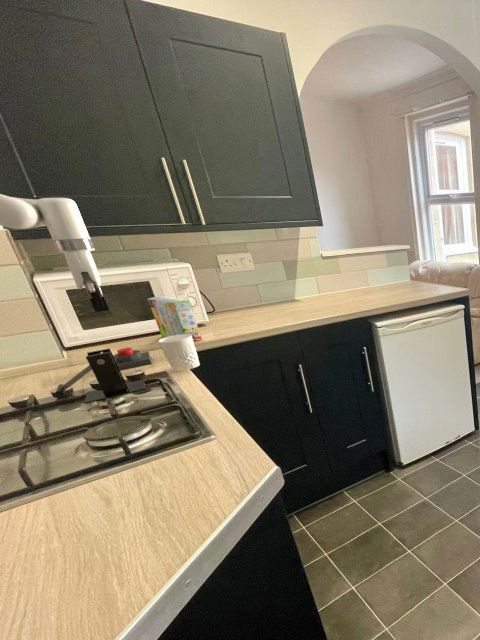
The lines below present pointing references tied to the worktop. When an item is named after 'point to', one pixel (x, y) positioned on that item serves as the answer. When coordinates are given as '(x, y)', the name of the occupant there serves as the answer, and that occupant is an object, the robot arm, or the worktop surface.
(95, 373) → the lever stand
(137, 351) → the button box
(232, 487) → the worktop surface
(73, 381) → the press lever
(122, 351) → the button
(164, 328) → the snack box
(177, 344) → the white cup
